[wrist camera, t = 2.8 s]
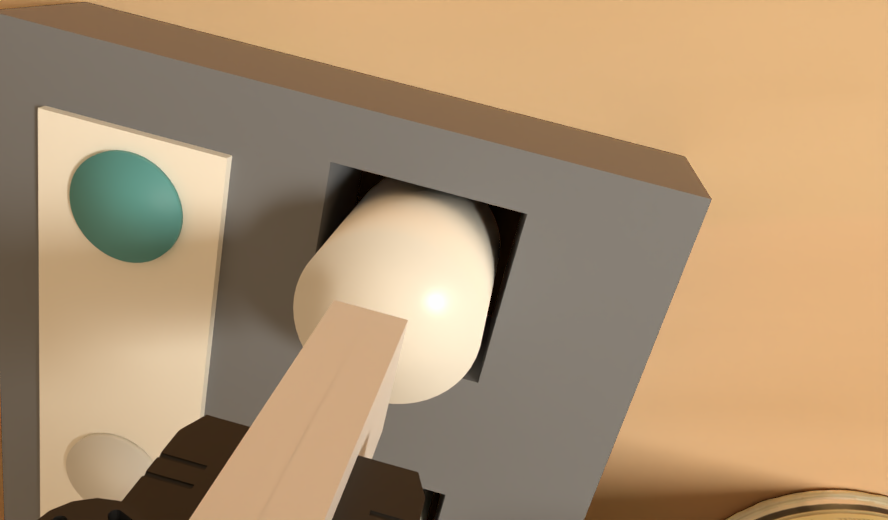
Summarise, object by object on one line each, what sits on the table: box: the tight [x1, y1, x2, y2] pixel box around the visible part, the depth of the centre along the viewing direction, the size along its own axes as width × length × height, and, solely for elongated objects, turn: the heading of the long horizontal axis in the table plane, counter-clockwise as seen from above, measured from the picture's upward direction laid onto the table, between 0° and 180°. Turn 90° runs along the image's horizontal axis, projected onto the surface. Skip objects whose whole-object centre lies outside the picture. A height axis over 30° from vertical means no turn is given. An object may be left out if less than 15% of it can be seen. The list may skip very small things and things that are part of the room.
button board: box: [0, 2, 712, 520], centre depth 24 cm, size 18×26×4 cm
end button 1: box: [293, 177, 500, 404], centre depth 19 cm, size 4×4×5 cm
